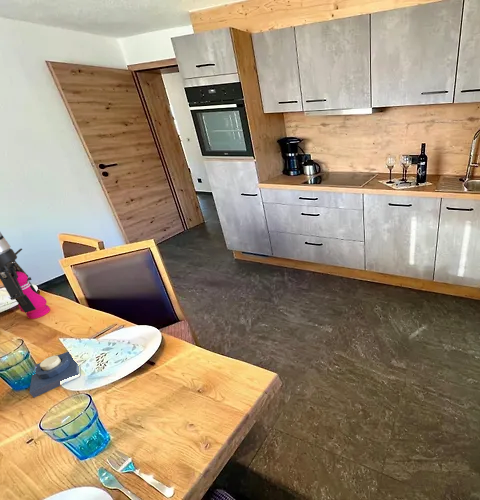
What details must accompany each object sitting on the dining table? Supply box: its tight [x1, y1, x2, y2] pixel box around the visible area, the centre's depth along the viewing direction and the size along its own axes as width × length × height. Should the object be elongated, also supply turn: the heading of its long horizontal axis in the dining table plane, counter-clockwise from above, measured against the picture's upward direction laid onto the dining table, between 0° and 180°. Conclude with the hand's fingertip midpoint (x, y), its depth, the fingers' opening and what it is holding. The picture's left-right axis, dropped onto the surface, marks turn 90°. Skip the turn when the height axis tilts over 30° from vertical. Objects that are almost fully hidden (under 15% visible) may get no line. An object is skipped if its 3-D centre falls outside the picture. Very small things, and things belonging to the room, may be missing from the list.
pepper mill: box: [12, 272, 51, 320], centre depth 106 cm, size 7×7×20 cm
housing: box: [28, 351, 79, 398], centre depth 85 cm, size 12×10×4 cm
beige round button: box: [39, 355, 61, 371], centre depth 83 cm, size 4×4×2 cm
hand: (32, 303), depth 109 cm, fingers open, 11 cm apart
